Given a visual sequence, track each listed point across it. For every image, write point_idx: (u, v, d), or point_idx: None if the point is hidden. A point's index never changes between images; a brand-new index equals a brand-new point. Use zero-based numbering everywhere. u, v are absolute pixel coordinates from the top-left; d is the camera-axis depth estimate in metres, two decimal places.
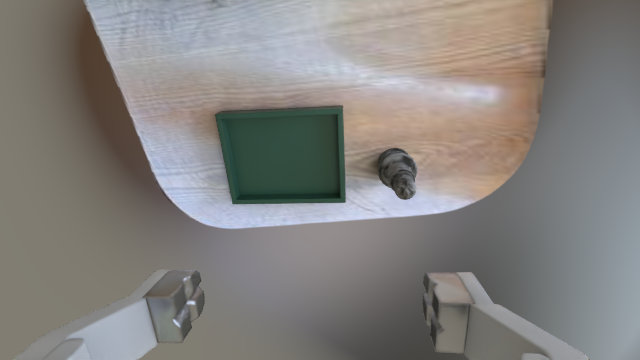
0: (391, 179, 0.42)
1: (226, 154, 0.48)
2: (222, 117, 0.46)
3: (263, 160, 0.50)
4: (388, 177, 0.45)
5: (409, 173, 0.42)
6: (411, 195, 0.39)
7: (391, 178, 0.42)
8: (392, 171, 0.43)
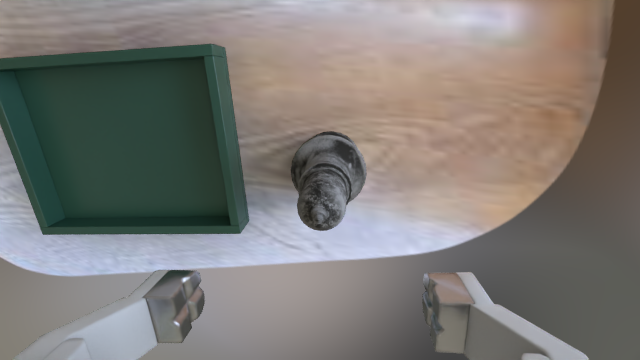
0: (301, 185, 0.19)
1: (12, 140, 0.26)
2: None
3: (94, 154, 0.28)
4: None
5: (338, 172, 0.19)
6: (333, 220, 0.16)
7: (301, 183, 0.19)
8: None
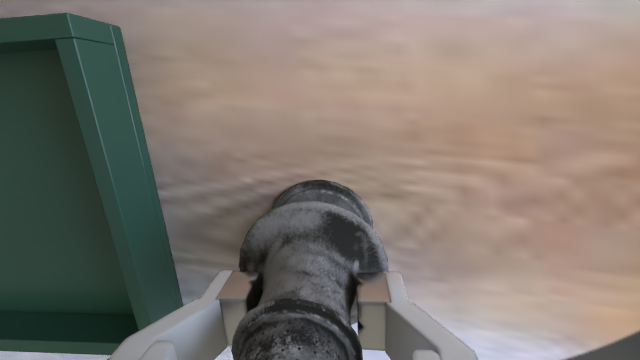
0: (237, 347, 0.08)
1: None
2: None
3: None
4: None
5: (328, 324, 0.07)
6: None
7: (237, 342, 0.08)
8: (266, 288, 0.09)
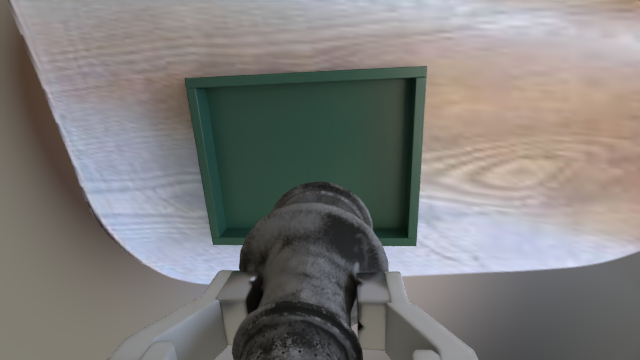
0: (238, 350, 0.08)
1: (203, 154, 0.27)
2: (198, 84, 0.25)
3: (270, 168, 0.28)
4: None
5: (329, 326, 0.07)
6: None
7: (237, 345, 0.08)
8: (266, 290, 0.09)
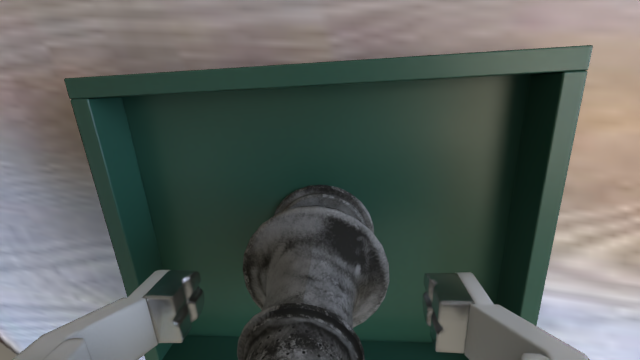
0: (243, 351, 0.08)
1: (118, 225, 0.14)
2: (92, 90, 0.12)
3: (248, 240, 0.16)
4: None
5: (331, 328, 0.08)
6: None
7: (242, 346, 0.08)
8: (270, 293, 0.10)
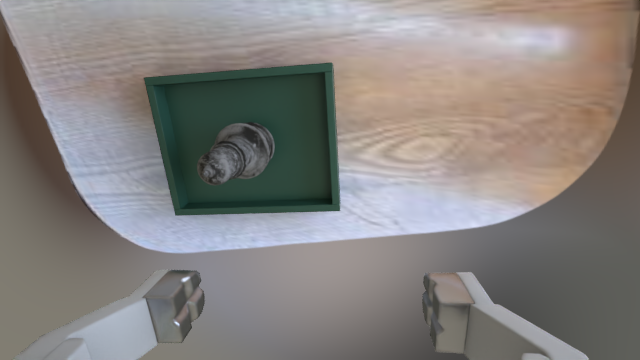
0: None
1: (163, 139, 0.33)
2: (154, 82, 0.31)
3: None
4: None
5: (234, 146, 0.26)
6: (219, 177, 0.24)
7: None
8: None
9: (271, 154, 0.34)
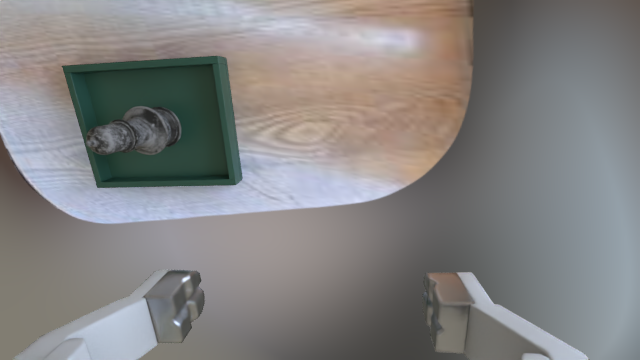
0: None
1: (82, 120, 0.38)
2: (71, 69, 0.36)
3: None
4: None
5: (125, 124, 0.32)
6: (103, 147, 0.29)
7: None
8: None
9: (178, 135, 0.39)
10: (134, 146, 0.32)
